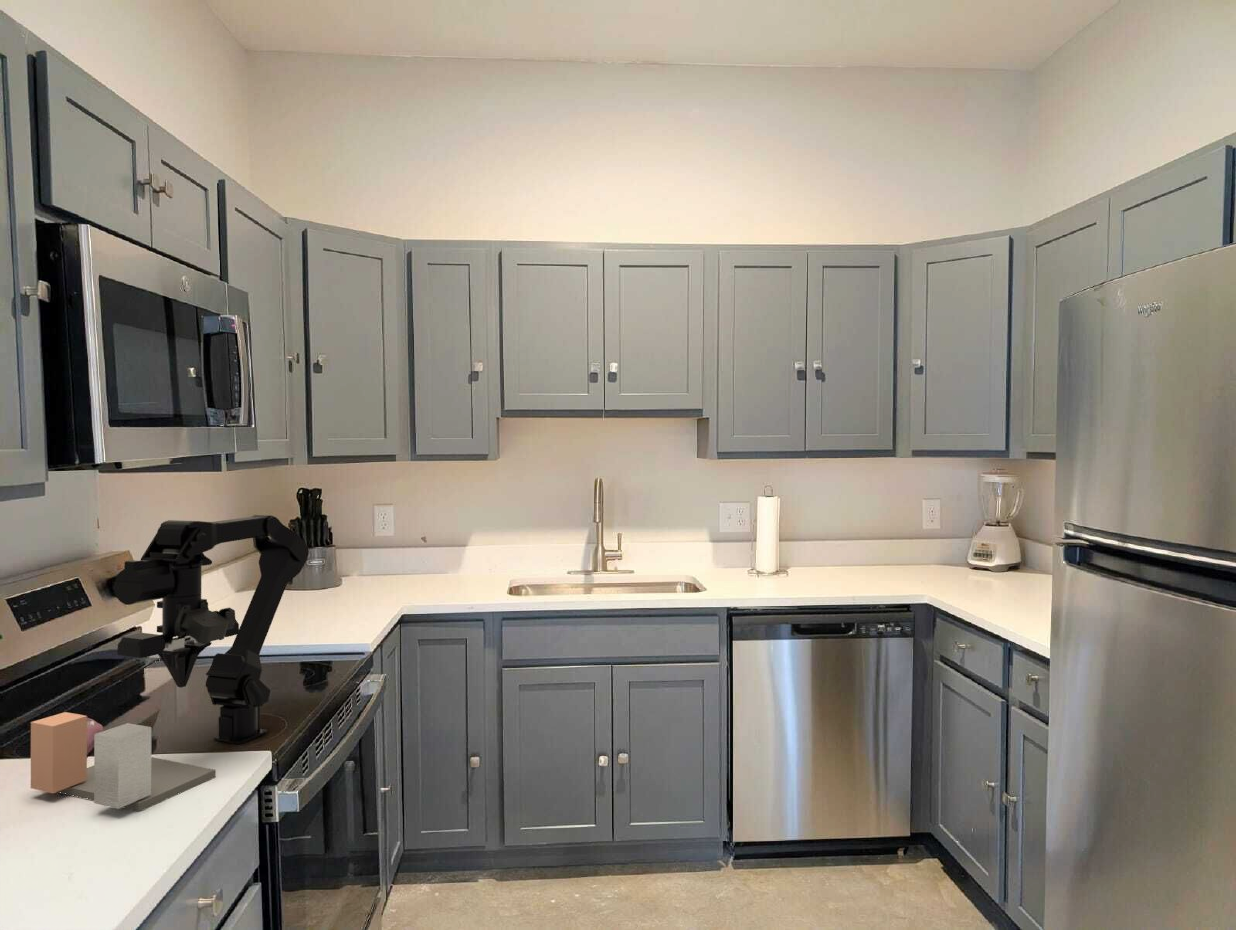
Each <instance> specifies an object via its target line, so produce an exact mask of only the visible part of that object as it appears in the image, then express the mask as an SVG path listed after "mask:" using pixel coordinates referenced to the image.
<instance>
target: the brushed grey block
mask: <svg viewBox="0 0 1236 930" xmlns="http://www.w3.org/2000/svg"><path fill="white" fill-rule="evenodd" d="M93 748H94V749H93V750H94V751H93V753H94V755H93V757H94V761H93V762H94V765H93V766H94V801H93V802H94V803H93V804H95V805H101V806H104V807H109V808H113V809H117V810H119V809H122V807H124V806H126V805H128V804H131V803H133V802H135V801H137V800H140V799H142V798H144V797H147V796H149V795H151V757H152V727H151V726H148V725H147V726H146V725H141V724H140V725H139V724H134V723H129V722H127V723H124V724H121V725H118V726H115V727H112V728H109V729H107V730H103V732H100V733H97V734H94V747H93Z"/></svg>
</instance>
